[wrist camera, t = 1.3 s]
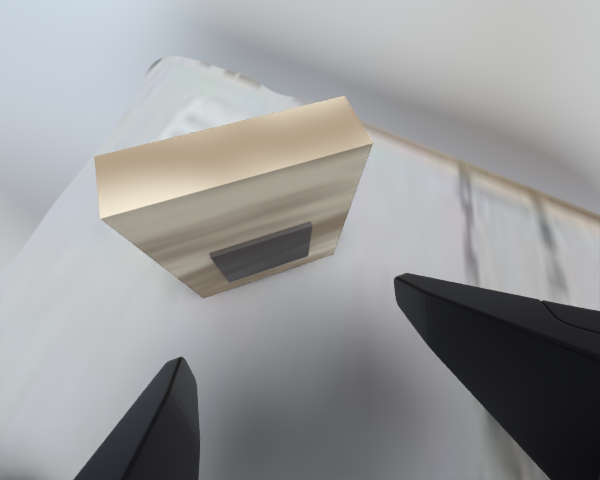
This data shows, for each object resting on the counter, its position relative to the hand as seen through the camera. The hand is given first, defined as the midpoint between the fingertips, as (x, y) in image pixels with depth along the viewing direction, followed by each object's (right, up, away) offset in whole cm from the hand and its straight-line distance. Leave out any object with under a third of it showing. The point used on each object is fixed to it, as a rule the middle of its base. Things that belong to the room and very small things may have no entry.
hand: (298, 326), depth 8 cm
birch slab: (-3, +1, +15) cm, 16 cm away
